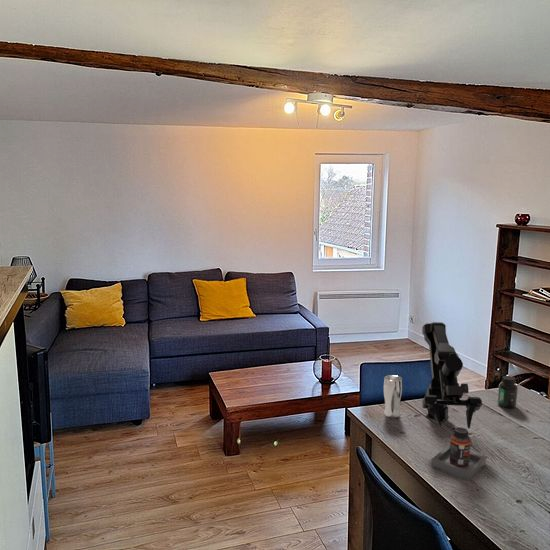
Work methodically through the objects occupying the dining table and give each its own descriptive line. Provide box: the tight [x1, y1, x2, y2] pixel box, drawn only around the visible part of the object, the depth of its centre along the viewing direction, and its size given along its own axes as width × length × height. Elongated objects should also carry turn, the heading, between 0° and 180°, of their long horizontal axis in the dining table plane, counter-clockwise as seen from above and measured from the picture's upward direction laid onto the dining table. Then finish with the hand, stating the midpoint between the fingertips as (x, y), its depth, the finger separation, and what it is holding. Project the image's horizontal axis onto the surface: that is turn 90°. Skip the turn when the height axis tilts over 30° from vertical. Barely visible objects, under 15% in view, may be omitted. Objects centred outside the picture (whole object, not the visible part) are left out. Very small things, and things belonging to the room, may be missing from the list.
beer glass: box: [383, 374, 403, 419], centre depth 197 cm, size 7×7×15 cm
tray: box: [431, 444, 487, 482], centre depth 161 cm, size 12×12×2 cm
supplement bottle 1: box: [449, 426, 472, 467], centre depth 161 cm, size 6×6×11 cm
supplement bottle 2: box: [497, 375, 519, 410], centre depth 205 cm, size 7×7×12 cm
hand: (454, 427), depth 168 cm, fingers open, 9 cm apart
